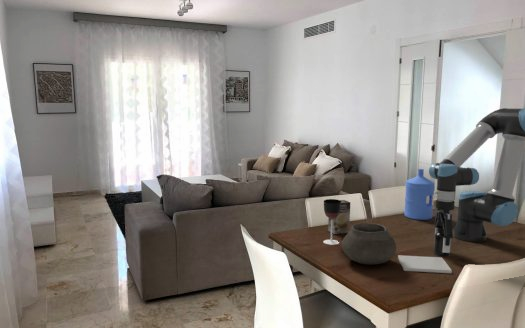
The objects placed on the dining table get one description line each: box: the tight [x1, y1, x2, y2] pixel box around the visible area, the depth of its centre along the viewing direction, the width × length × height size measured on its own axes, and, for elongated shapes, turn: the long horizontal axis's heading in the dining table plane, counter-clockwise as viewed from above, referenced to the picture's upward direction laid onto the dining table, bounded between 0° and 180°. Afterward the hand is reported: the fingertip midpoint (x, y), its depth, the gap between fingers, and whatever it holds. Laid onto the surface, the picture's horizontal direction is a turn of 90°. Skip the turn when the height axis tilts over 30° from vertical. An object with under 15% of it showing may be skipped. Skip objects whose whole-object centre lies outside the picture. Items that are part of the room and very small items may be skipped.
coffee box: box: [327, 199, 351, 235], centre depth 218 cm, size 9×6×16 cm
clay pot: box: [341, 222, 397, 265], centre depth 177 cm, size 22×21×15 cm
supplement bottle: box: [433, 225, 452, 257], centre depth 186 cm, size 7×7×12 cm
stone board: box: [397, 254, 453, 274], centre depth 174 cm, size 18×14×1 cm
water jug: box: [403, 168, 435, 221], centre depth 246 cm, size 16×16×28 cm
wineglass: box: [323, 198, 341, 246], centre depth 201 cm, size 8×9×20 cm
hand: (441, 247), depth 186 cm, fingers open, 13 cm apart
